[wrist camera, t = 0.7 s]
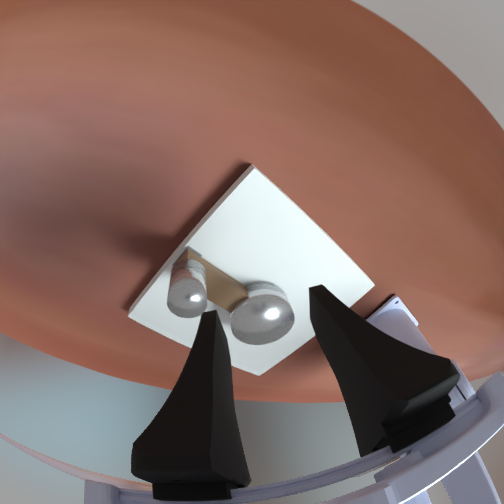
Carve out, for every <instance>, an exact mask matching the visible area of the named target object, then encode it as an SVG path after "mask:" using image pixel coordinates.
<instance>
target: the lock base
mask: <svg viewBox="0 0 504 504" xmlns="http://www.w3.org/2000/svg"><path fill="white" fill-rule="evenodd" d="M187 249H189V250H191V251H192V252H194V253H195V254H197V255H198V256H200V257H201V258H203V259H205V260H206V261H208V262H209V263H211V264H212V265H214V266H215V267H217V268H218V269H220V270H221V271H223V272H224V273H226V274H227V275H229V276H231V277H232V278H234V279H235V280H237V281H238V282H240V283H241V284H243V285H245V286H246V287H248V286H250V285H254V284H261V283H267V284H272V285H275V286H278V287H279V288H281V289H282V290H283V291H284V292H285V293H286V295H287V297H288V300H289V302H290V305H291V307H292V310H293V312H294V316H295V320H294V324H293V326H292V328H291V330H290V331H289V332H288V333H287V334H286V335H285V336H283V337H282V338H280V339H279V340H277V341H274V342H272V343H268V344H264V345H250V344H246V343H243V342H241V341H239V340H238V339H236V338H235V337H234V335H233V333H232V331H231V325H230V318H229V311H227V310H225V309H223V308H221V307H220V306H218V305H216V304H214V303H213V302H211V301H209V300H207V308H206V310H205V311H204V312H207V311H212V310H217V312H218V315H219V318H220V321H221V323H222V326H223V329H224V332H225V334H226V337H227V340H228V346H229V351H230V357H231V366H234V367H237V368H239V369H242V370H244V371H247V372H250V373H252V374H255V375H258V376H260V375H261V374H263V373H264V372H266V371H267V370H269V369H270V368H272V367H273V366H274V365H276V364H277V363H279V362H280V361H282V360H283V359H284V358H286V357H287V356H289V355H290V354H291V353H293V352H294V351H295V350H297V349H298V348H299V347H301V346H302V345H303V344H305V343H306V342H307V341H309V340H310V339H311V338H313V337H314V336H315V332H314V329H313V326H312V324H311V321H310V308H309V287H313V286H317V285H320V284H322V285H324V286H325V287H326V288H327V289H328V290H329V291H330V292H331V293H332V294H334V295H335V296H336V297H337V298H338V299H339V300H340V301H342V302H343V303H344V304H345V305H346V306H348V307H351V306H352V305H353V304H354V303H355V302H356V301H358V300H359V299H360V298H361V297H362V296H363V295H364V294H366V293H367V292H368V291H369V290H370V289H371V288H372V287H373V286H374V283H373V282H372V281H371V279H370V278H369V277H368V276H367V275H366V274H365V273H364V272H363V271H362V270H361V268H360V267H359V266H358V265H357V264H356V263H355V262H354V261H353V260H352V259H351V258H350V257H349V256H348V255H347V254H346V253H345V252H344V251H343V250H342V249H341V248H340V247H339V246H338V245H337V243H336V242H335V241H334V240H333V239H332V238H331V237H330V236H329V235H328V234H327V233H326V232H325V231H324V230H323V229H322V228H321V227H319V226H318V225H317V224H316V223H315V222H314V221H313V220H312V219H311V218H310V217H309V216H308V215H307V214H306V213H305V212H304V211H303V210H302V209H301V208H300V207H299V206H298V205H297V204H296V203H295V202H294V201H292V200H291V199H290V198H289V197H288V196H287V195H286V194H285V193H284V192H283V191H282V190H281V189H280V188H278V187H277V186H276V185H275V184H274V183H273V182H272V181H271V180H270V179H268V178H267V177H266V176H265V175H264V174H263V173H262V172H261V171H260V170H258V169H257V168H256V167H255V166H254V165H253V164H251V165H250V166H249V167H248V168H247V169H246V171H245V172H244V173H243V174H242V175H241V176H240V177H239V178H238V179H237V180H236V181H235V182H234V183H233V185H232V186H231V187H230V188H229V189H228V190H227V191H226V192H225V193H224V194H223V196H222V197H221V198H220V199H219V200H218V201H217V202H216V203H215V204H214V206H213V207H212V208H211V209H210V210H209V211H208V212H207V213H206V215H205V216H204V217H203V218H202V219H201V220H200V222H199V223H198V224H197V225H196V226H195V227H194V228H193V230H192V231H191V232H190V233H189V234H188V236H187V237H186V238H185V239H184V240H183V241H182V243H181V244H180V245H179V246H178V247H177V249H176V250H175V251H174V252H173V253H172V255H171V256H170V257H169V258H168V260H167V261H166V262H165V263H164V264H163V266H162V267H161V268H160V269H159V271H158V272H157V273H156V274H155V276H154V277H153V278H152V279H151V281H150V282H149V283H148V285H147V286H146V287H145V288H144V290H143V291H142V292H141V294H140V295H139V296H138V297H137V299H136V300H135V301H134V303H133V304H132V305H131V307H130V309H129V313H128V317H129V318H131V319H133V320H135V321H137V322H138V323H140V324H142V325H144V326H146V327H148V328H150V329H152V330H154V331H156V332H158V333H160V334H162V335H164V336H166V337H168V338H170V339H172V340H174V341H176V342H178V343H180V344H183V345H185V346H187V347H189V348H192V345H193V342H194V339H195V336H196V333H197V330H198V326H199V323H200V319H201V315H202V314H201V315H200V316H197V317H194V318H182V317H178V316H176V315H175V314H173V313H172V312H171V311H170V310H169V308H168V306H167V297H168V289H169V282H170V274H171V269H172V267H173V265H174V264H175V263H176V262H177V261H178V260H179V259H180V258H181V256H182V255H183V254H184V253H185V252H186V251H187Z"/></svg>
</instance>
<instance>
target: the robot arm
mask: <svg viewBox="0 0 504 504" xmlns="http://www.w3.org/2000/svg"><path fill="white" fill-rule="evenodd" d="M309 308H310V321H311V324H312V326H313V329H314V332H315V335H316V338H317V340H318V342H319V344H320V346H321V348H322V350H323V352H324V354H325V356H326V358H327V360H328V362H329V364H330V366H331V368H332V370H333V372H334V374H335V376H336V379H337V381H338V383H339V386H340V389H341V392H342V395H343V397H344V400H345V403H346V407H347V410H348V413H349V416H350V419H351V422H352V426H353V430H354V433H355V437H356V441H357V445H358V449H359V453H360V457H361V458H359V459H356V460H353V461H351V462H348V463H346V464H342V465H340V466H337V467H334V468H330V469H327V470H324V471H321V472H318V473H314V474H310V475H307V476H303V477H299V478H295V479H291V480H287V481H282V482H277V483H272V484H266V485H260V486H255V487H247V486H248V485H249V484H250V482H251V478H250V474H249V471H248V467H247V463H246V459H245V455H244V451H243V447H242V442H241V438H240V433H239V428H238V424H237V419H236V413H235V407H234V398H233V384H232V369H231V357H230V351H229V346H228V340H227V337H226V334H225V332H224V329H223V326H222V323H221V321H220V318H219V315H218V312H217V310H212V311H207V312H203V313H202V315H201V319H200V323H199V326H198V330H197V333H196V336H195V339H194V342H193V345H192V348H191V351H190V354H189V356H188V358H187V361H186V363H185V366H184V368H183V370H182V373H181V375H180V377H179V379H178V381H177V383H176V385H175V386H174V388H173V390H172V392H171V394H170V395H169V397H168V399H167V400H166V402H165V403H164V405H163V407H162V408H161V409H160V411H159V412H158V414H157V415H156V416H155V418H154V419H153V420H152V422H151V423H150V424H149V426H148V427H147V428H146V429H145V430H144V432H143V433H142V434H141V435H140V436H139V437H138V438H137V440H136V441H135V442H134V443H133V449H132V455H131V473H132V474H133V475H134V476H135V477H138V478H140V479H142V480H145V481H148V482H150V483H152V487H153V491H142V490H132V489H123V488H118V487H116V486H114V485H111V484H107V483H102V482H96V481H91V480H85V492H84V504H241V503H249V502H256V501H263V500H269V499H275V498H280V497H285V496H289V495H294V494H298V493H302V492H306V491H310V490H313V489H317V488H321V487H324V486H327V485H330V484H333V483H336V482H339V481H342V480H345V479H348V478H351V477H354V476H356V475H359V474H361V473H364V472H366V471H369V470H371V469H373V468H376V467H378V466H380V465H383V464H385V463H387V462H389V461H391V460H393V459H395V458H397V457H399V456H400V458H401V459H400V460H398V461H396V462H394V463H392V464H390V465H388V466H386V467H385V468H384V469H383V470H381V471H379V472H378V473H376V474H375V475H374V478H375V480H376V483H375V484H372V485H370V486H367V487H365V488H362V489H360V490H357V491H354V492H352V493H349V494H346V495H343V496H340V497H337V498H334V499H331V500H328V501H324V502H321V503H317V504H432V503H431V501H430V498H429V496H428V493H427V491H426V489H427V488H429V487H430V486H432V485H433V484H435V483H436V482H438V481H439V480H441V481H442V483H443V485H444V487H445V489H446V491H447V493H448V495H449V497H450V499H451V501H452V503H453V504H501V501H500V499H499V497H498V494H497V492H496V489H495V487H494V485H493V482H492V480H491V478H490V476H489V474H488V472H487V470H486V467H485V465H484V463H483V461H482V459H481V457H480V455H479V453H478V451H477V450H479V449H480V448H481V447H482V446H483V445H484V444H485V443H486V442H487V441H488V440H489V439H490V438H491V437H492V436H493V435H494V434H496V433H497V432H498V431H499V429H501V428H502V426H504V377H503V375H502V373H501V372H500V371H498V372H497V373H495V374H494V375H493V376H492V377H491V378H490V379H489V380H487V381H486V382H485V383H484V384H483V385H482V386H481V387H480V388H479V389H478V390H477V391H476V393H475V391H474V389H473V388H472V386H471V384H470V383H469V381H468V380H467V378H466V377H465V375H464V374H463V372H462V371H461V369H460V368H459V366H458V365H457V363H456V362H455V360H450V359H448V358H444V357H441V356H437V355H436V353H435V352H434V350H433V349H432V347H431V346H430V345H429V343H428V342H427V340H426V339H425V338H424V336H423V335H422V333H421V332H420V331H419V329H418V328H417V325H418V322H417V321H416V319H415V318H414V317H413V315H412V314H411V313H410V311H409V310H408V309H407V308H406V306H405V305H404V304H403V303H402V301H401V300H400V299H399V297H398V296H397V295H394V296H393V297H391V298H390V299H389V300H388V301H387V302H386V303H385V304H384V305H383V306H381V307H380V308H379V309H378V310H377V311H376V312H375V313H373V314H372V315H371V316H370V317H369V318H368V319H366V320H365V319H363V318H362V317H360V316H359V315H358V314H356V313H355V312H354V311H353V310H351V309H350V308H349V307H348V306H346V305H345V304H344V303H343V302H342V301H340V300H339V299H338V298H337V297H336V296H335V295H334V294H332V293H331V292H330V291H329V290H328V289H327V288H326V287H325V286H324V285H322V284H320V285H317V286H313V287H309ZM245 487H247V488H245ZM238 488H240V489H238Z"/></svg>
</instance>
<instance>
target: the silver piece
mask: <svg viewBox="0 0 504 504" xmlns="http://www.w3.org/2000/svg"><path fill="white" fill-rule="evenodd" d="M207 300H209V301H211V302H213V303H214V304H216V305H218V306H220V307H221V308H223V309H225V310H227V311H229V318H230V325H231V331H232V333H233V335H234V337H235V338H236V339H238V340H239V341H241V342H243V343H246V344H250V345H264V344H268V343H272V342H274V341H277V340H279V339H280V338H282V337H283V336H285V335H286V334H287V333H288V332H289V331H290V330H291V328H292V326H293V324H294V320H295V316H294V312H293V310H292V307H291V305H290V302H289V300H288V297H287V295H286V293H285V292H284V291H283V290H282V289H281V288H279V287H278V286H275V285H272V284H267V283H261V284H254V285H250V286H248V287H246V286H245V285H243V284H241V283H240V282H238V281H237V280H235V279H234V278H232V277H231V276H229V275H227V274H226V273H224V272H223V271H221V270H220V269H218V268H217V267H215V266H214V265H212V264H211V263H209V262H208V261H206V260H205V259H203V258H201V257H200V256H198V255H197V254H195V253H194V252H192V251H191V250H189V249H187V251H186V252H185V253H184V254H183V255H182V256H181V258H180V259H179V260H178V261H177V262H176V263H175V264H174V265H173V267H172V269H171V274H170V282H169V289H168V297H167V306H168V308H169V310H170V311H171V312H172V313H173V314H175V315H176V316H178V317H182V318H194V317H197V316H200V315H201V314H202V313H203V312H204V311H205V310H206V308H207Z"/></svg>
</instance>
